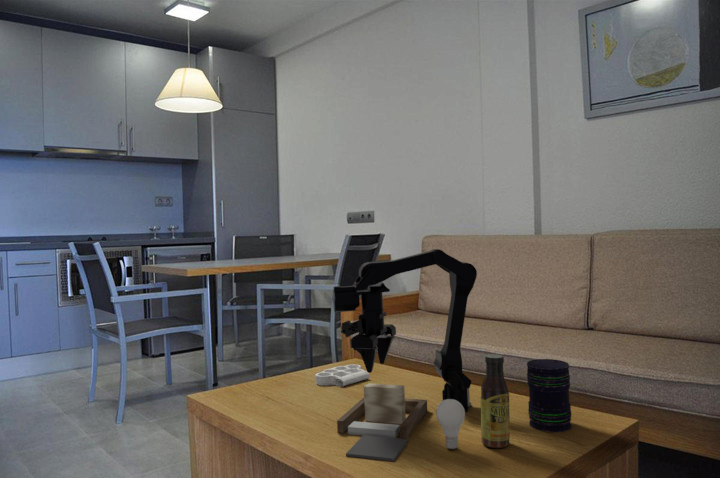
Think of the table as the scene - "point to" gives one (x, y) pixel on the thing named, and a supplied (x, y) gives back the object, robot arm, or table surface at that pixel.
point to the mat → (377, 448)
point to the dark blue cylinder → (549, 395)
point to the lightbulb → (450, 420)
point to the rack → (406, 428)
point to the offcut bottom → (373, 434)
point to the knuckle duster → (342, 375)
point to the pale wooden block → (384, 403)
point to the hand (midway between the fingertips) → (376, 367)
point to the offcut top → (374, 428)
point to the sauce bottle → (495, 404)
